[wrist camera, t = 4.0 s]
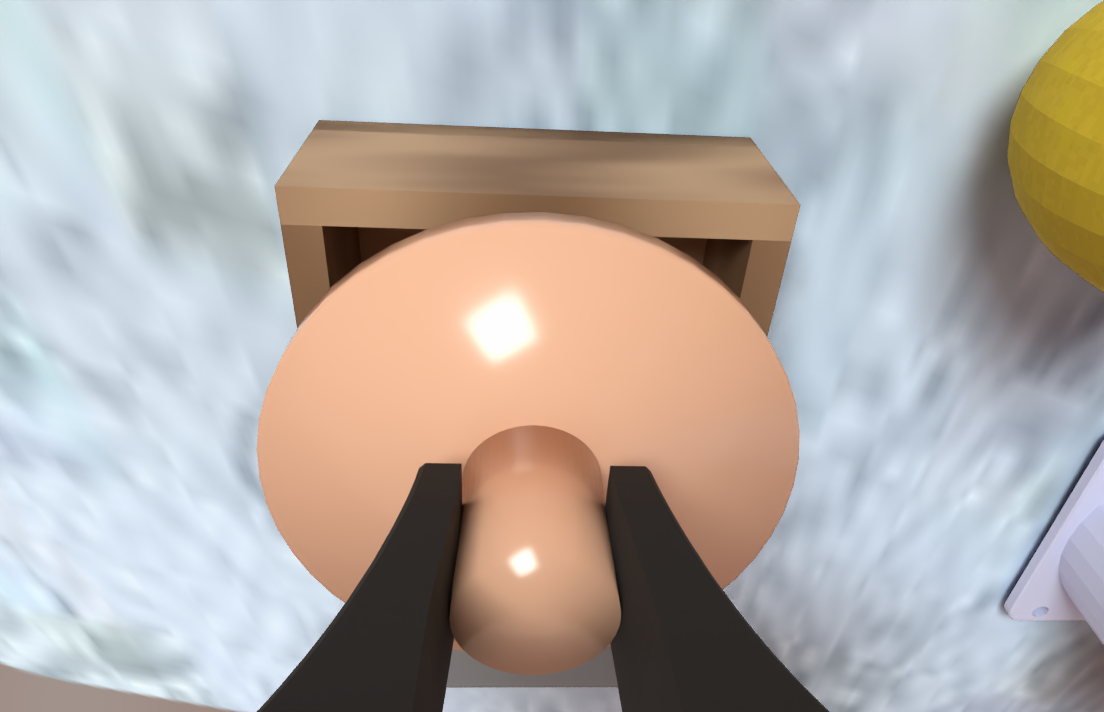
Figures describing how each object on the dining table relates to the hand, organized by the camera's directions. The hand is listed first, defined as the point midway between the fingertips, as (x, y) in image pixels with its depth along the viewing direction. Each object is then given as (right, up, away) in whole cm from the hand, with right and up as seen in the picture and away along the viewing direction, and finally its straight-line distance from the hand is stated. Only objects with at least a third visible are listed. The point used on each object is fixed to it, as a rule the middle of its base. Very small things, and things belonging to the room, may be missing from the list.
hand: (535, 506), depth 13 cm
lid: (0, +1, +2) cm, 2 cm away
